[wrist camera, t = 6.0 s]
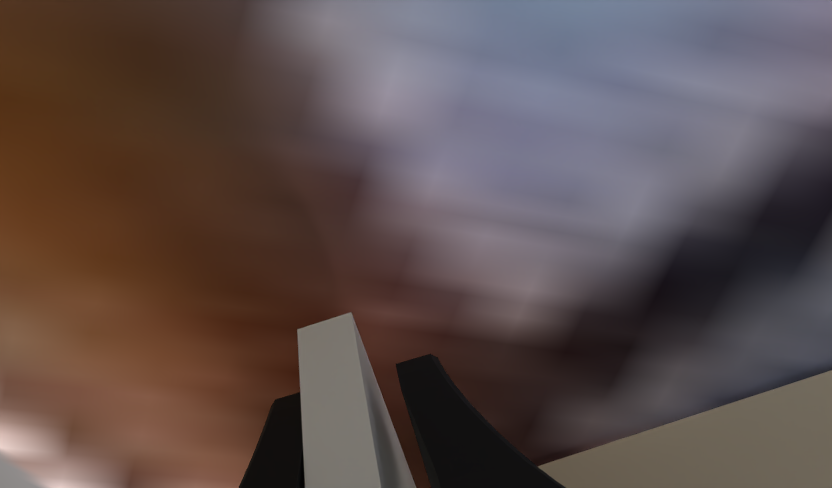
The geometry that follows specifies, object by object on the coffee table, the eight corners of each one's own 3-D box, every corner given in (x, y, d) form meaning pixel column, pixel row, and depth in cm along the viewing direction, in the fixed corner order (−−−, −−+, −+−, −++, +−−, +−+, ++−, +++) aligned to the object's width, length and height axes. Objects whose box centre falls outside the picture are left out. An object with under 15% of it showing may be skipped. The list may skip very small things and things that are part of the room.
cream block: (1040, 63, 15) (1442, 171, 10) (1004, 333, 18) (1295, 522, 13) (245, 316, 14) (229, 567, 9) (349, 547, 18) (380, 831, 12)
